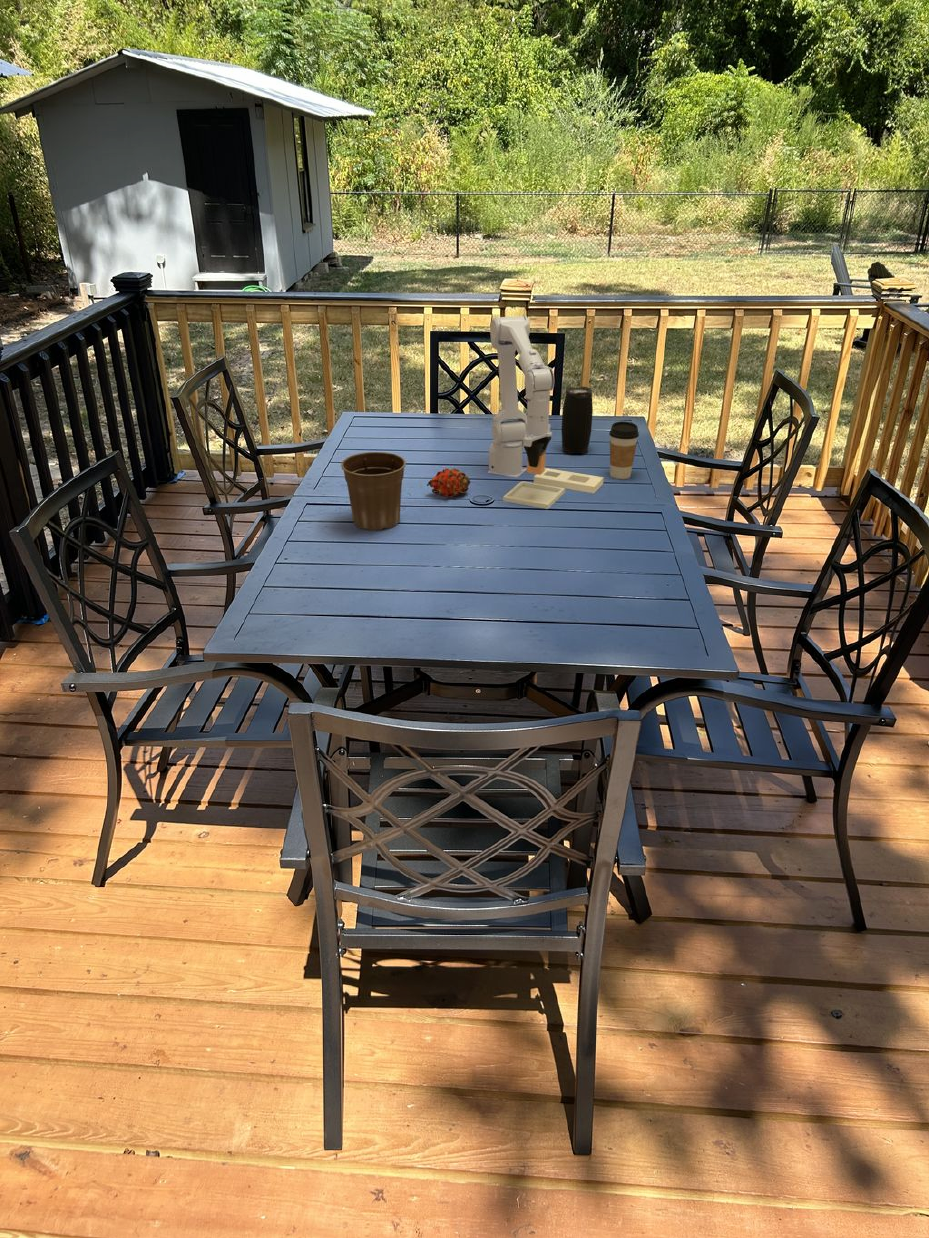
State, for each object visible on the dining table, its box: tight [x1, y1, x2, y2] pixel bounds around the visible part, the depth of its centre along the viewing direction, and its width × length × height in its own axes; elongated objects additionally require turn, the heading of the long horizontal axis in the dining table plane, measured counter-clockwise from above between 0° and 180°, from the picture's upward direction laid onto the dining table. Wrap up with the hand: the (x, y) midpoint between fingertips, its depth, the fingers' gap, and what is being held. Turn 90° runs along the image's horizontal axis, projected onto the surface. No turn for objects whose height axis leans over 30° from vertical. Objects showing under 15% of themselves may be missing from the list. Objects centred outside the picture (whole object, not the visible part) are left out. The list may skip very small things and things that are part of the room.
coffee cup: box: [608, 420, 640, 480], centre depth 260 cm, size 8×8×15 cm
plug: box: [526, 449, 547, 475], centre depth 243 cm, size 4×3×6 cm
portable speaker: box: [561, 386, 594, 456], centre depth 277 cm, size 9×9×20 cm
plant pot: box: [340, 451, 407, 531], centre depth 231 cm, size 16×16×16 cm
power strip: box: [533, 467, 604, 494], centre depth 257 cm, size 18×8×3 cm, turn 64°
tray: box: [502, 480, 566, 510], centre depth 248 cm, size 13×13×2 cm
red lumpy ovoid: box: [426, 467, 471, 499], centre depth 249 cm, size 8×8×12 cm
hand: (535, 464), depth 244 cm, fingers closed on plug, 3 cm apart
